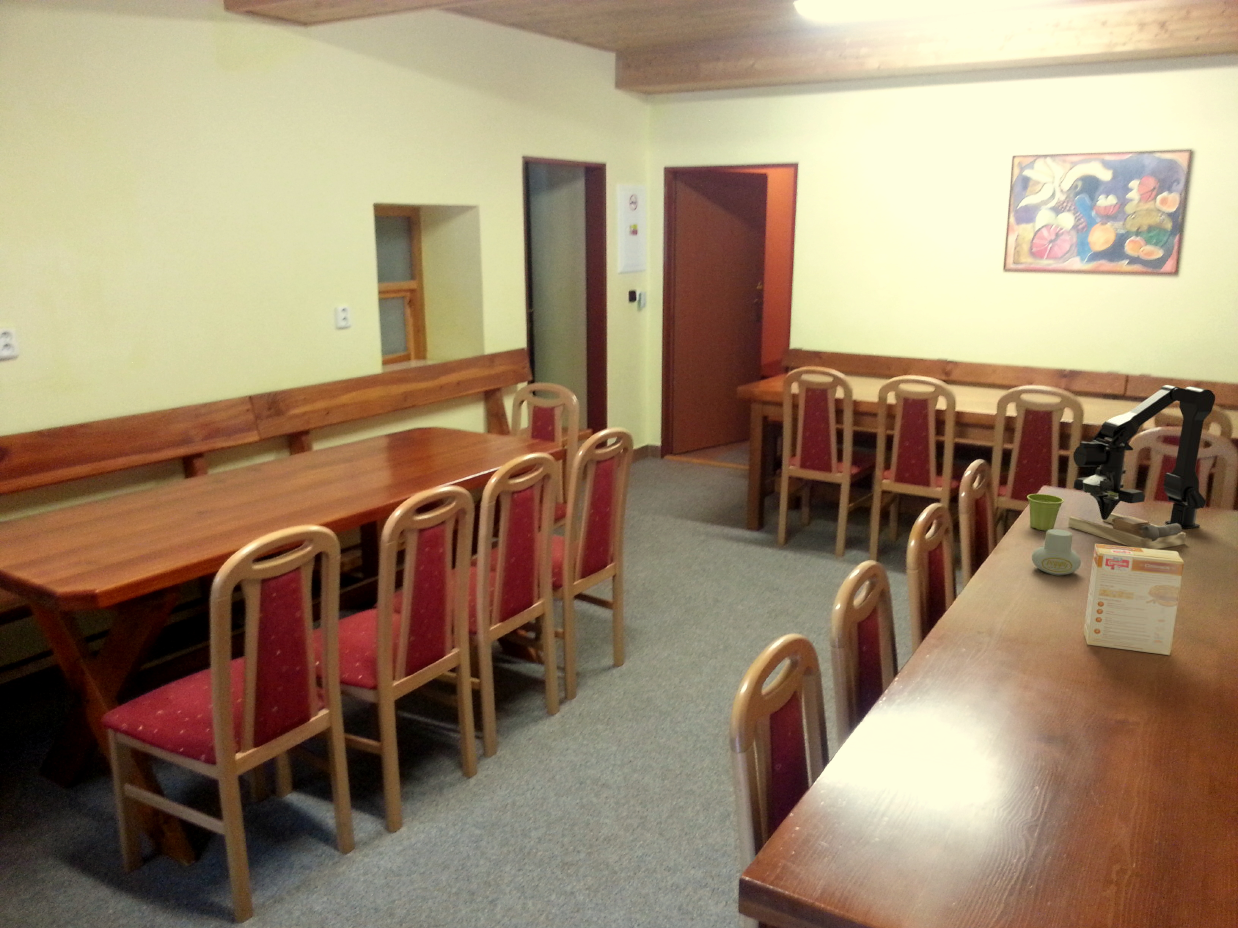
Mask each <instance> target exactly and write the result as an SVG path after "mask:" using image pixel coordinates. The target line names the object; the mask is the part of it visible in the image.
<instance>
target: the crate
mask: <svg viewBox="0 0 1238 928" xmlns="http://www.w3.org/2000/svg"><path fill="white" fill-rule="evenodd" d="M1125 516H1126V515H1125ZM1112 522H1114V523H1113V524H1112V528H1113V529H1116V530H1119V531H1123V532H1126V533H1129V534H1132V535H1135V536H1139V537H1142V538H1144V537H1143V535H1142V530H1140V529H1139V527H1141V526H1146V525H1150V524H1151V522H1149V521H1148V520H1145V519H1141V518H1138V517H1134V516H1132V515H1127V516H1126V517H1118V518H1114V519H1112Z"/></svg>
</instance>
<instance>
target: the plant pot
mask: <svg viewBox="0 0 1238 928" xmlns="http://www.w3.org/2000/svg"><path fill="white" fill-rule="evenodd" d="M1026 498H1027V500H1028V505H1029V526H1030V527H1031V528H1032V529H1036V530H1038V531H1045V532H1046V531H1048V530H1050V529H1055V524H1056V521H1057V517H1058V515H1059V510H1060V508H1061V506H1062V504H1063V503H1064V501H1065V499H1063V498H1062V497H1060V496H1056V495H1052V494H1046V493H1031V494H1028V495H1027V496H1026Z"/></svg>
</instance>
